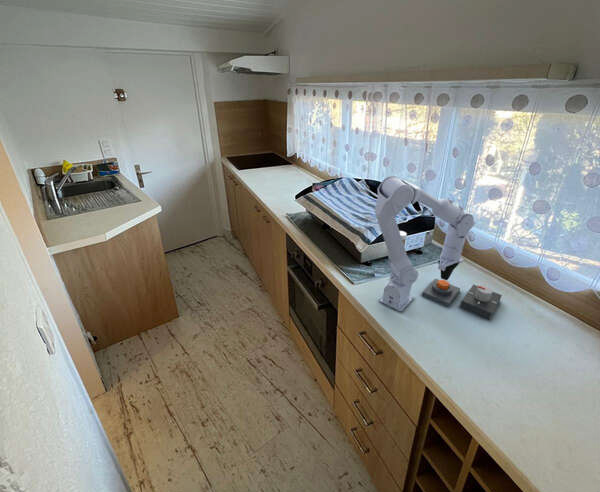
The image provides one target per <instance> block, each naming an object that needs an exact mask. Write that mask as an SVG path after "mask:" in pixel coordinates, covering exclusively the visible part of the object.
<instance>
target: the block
mask: <svg viewBox="0 0 600 492" xmlns="http://www.w3.org/2000/svg"><path fill="white" fill-rule="evenodd" d="M439 280H440V279H439V278H436V277H435V278H434V279H433V280H432V282H431V283H430V284H429V285H428V286H427V287H426V288H425V289H424V290H423V291H422V293H421V296H422V297H424V298H427V299H428V300H431V301H433V302H435V303H437V304H440V305H442V306H444V307H447V308H449V306H450V305H451V304H452V302H453V301H454V300H455V298H456V297H457V296H458V294H459V293H460V290H461V287H458V286H455V285H454V284H451V283H449V287H448V289H447V290H443V289H440V288H438V287H437V284H438V281H439Z"/></svg>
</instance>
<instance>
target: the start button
mask: <svg viewBox="0 0 600 492" xmlns="http://www.w3.org/2000/svg"><path fill="white" fill-rule="evenodd" d="M438 280H439V281H438V284H437V287H438V288H440V289H443V290H447V289H448V287H449V284H450V282H449V281H448V280H444V279H438Z"/></svg>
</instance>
